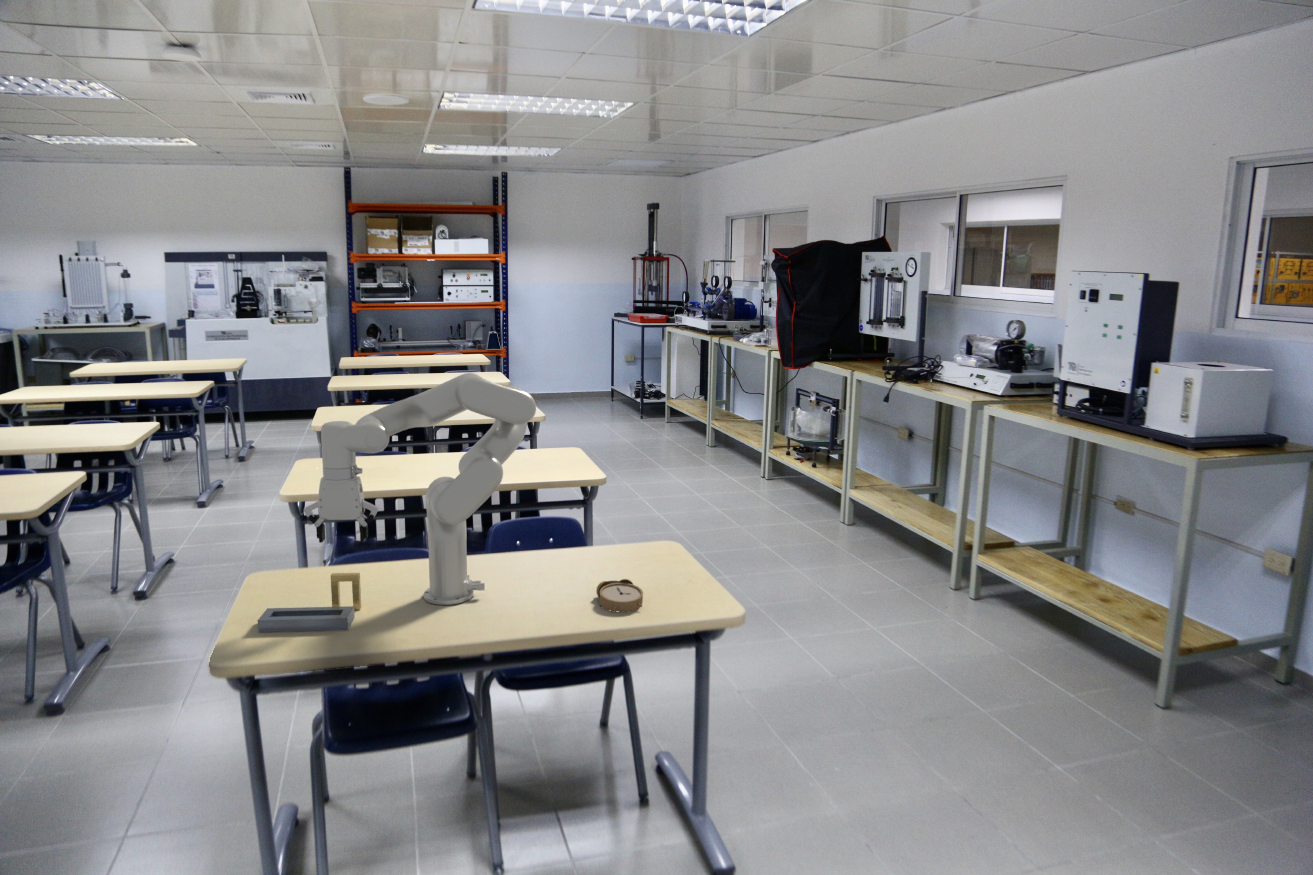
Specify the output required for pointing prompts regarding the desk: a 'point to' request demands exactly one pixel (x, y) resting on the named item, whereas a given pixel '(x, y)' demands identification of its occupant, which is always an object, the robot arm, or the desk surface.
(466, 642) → the desk surface
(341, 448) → the robot arm
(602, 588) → the alarm clock
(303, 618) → the rail
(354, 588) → the wooden u-shaped block
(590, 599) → the desk surface
